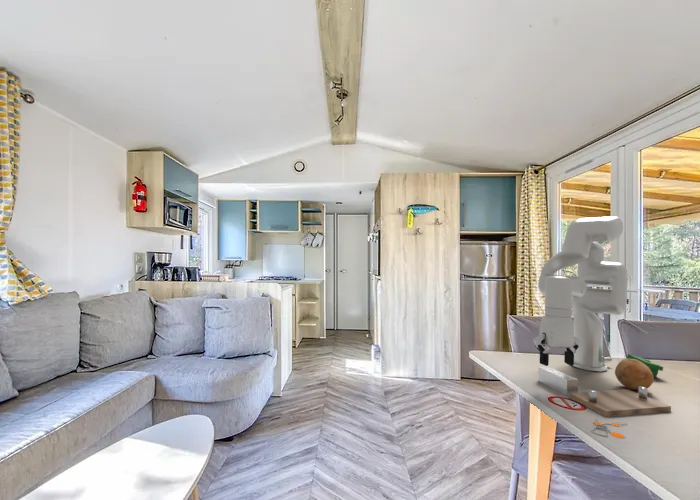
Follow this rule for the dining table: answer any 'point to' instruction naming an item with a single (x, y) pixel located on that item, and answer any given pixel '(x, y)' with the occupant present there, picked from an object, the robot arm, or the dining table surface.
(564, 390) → the silver metal block
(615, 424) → the key chain
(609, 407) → the peg board
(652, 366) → the clamp
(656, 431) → the dining table surface
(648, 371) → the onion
